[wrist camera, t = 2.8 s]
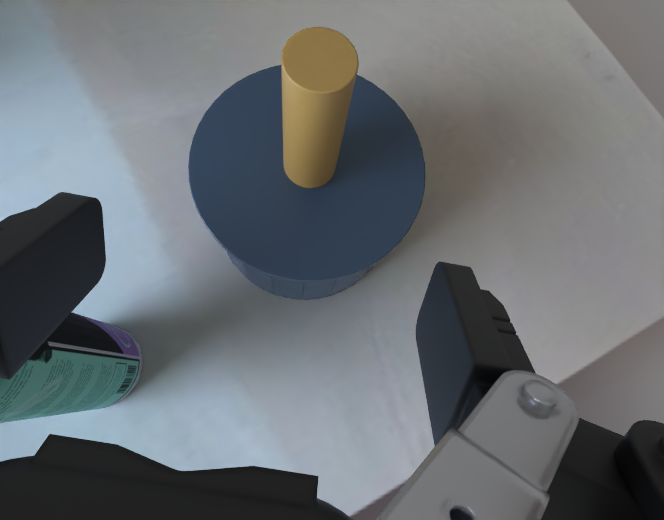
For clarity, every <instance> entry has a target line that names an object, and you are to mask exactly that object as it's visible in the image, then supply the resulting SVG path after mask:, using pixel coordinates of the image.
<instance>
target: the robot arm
mask: <svg viewBox="0 0 664 520" xmlns="http://www.w3.org/2000/svg"><path fill="white" fill-rule="evenodd" d="M105 262H106V254H105V241H104V228H103V215H102V207H101V204H100V202H99V200H98V199H96V198H92V197H87V196H81V195H76V194H71V193H65V192H61V193H58V194H57V195H55V196H54V197H52V198H51V199H49V200H47V201H46V202H44V203H43V204H41V205H40V206H38V207H37V208H33V209H30V210H27V211H24V212H21V213H17V214H14V215H11V216H9V217H7V218H6V219H4V220H2V221H1V222H0V378H2V379H8V380H10V379H11V378H12V377H13V376H14V375H15V374H16V372H17V371H18V370H19V369H20V368H21V367H22V366H23V365H24V364H25V363H26V361H27V360H28V359H29V358H30V357H31V356H32V355H33V354H34V353H35V352H36V350H37V349H38V348H39V347H40V346H41V345H42V344H43V343H44V342H45V341H46V339H47V338H48V337H49V336H50V335H51V334H52V333H53V332H54V331H55V329H56V328H57V327H58V326H59V325H60V324H61V323H62V322H63V321H64V320H65V318H66V317H67V316H68V315H69V314H70V313H71V312H72V311H73V310H74V309H75V307H76V306H77V305H78V304H79V303H80V302H81V301H82V300H83V299H84V298H85V296H86V295H87V294H88V293H89V292H90V291H91V290H92V289H93V288H94V287H95V285H96V284H97V283H98V282H99V280H100V279H101V277H102V274H103V272H104V268H105ZM416 341H417V347H418V352H419V358H420V364H421V370H422V375H423V381H424V387H425V393H426V398H427V404H428V410H429V415H430V421H431V427H432V433H433V438H434V444H435V447H434V449H433V450H432V451H431V452H430V454H429V455H428V456H427V457H426V459H425V460H424V461H423V462H422V463H421V465H420V466H419V467H418V468H417V470H416V471H415V472H414V473H413V475H412V476H411V477H410V478H409V479H408V481H407V482H406V483H405V484H404V486H403V487H402V488H401V489H400V490H399V492H398V493H397V494H396V495H395V497H394V498H393V499H392V500H391V502H390V503H389V504H388V505H387V506H386V508H385V509H384V510H383V511H382V513H381V514H380V515H379V516H378V517H377V519H376V520H664V424H663V423H659V422H656V421H648V420H643V421H638V422H636V423H634V424H633V425H632V427H631V428H630V429H629V431H628V432H627V433H626V435H625V436H622V435H620V434H617V433H614V432H612V431H610V430H607V429H605V428H602V427H600V426H597V425H595V424H593V423H590V422H588V421H585V420H583V419H581V418H579V413H578V410H577V407H576V405H575V404H574V402H573V401H572V399H571V398H570V397H569V396H568V394H566V392H564V391H563V390H562V389H561V388H560V387H559V386H557V385H556V384H555V383H553V382H551V381H550V380H548V379H546V378H544V377H542V376H540V375H537V374H536V373H535V371H534V369H533V367H532V365H531V362H530V360H529V358H528V356H527V354H526V352H525V350H524V348H523V346H522V344H521V341H520V339H519V337H518V335H516V331H515V329H514V327H513V325H512V323H510V318H509V316H508V314H507V312H506V310H505V308H504V306H503V304H502V303H501V302H499V301H498V300H497V299H496V298H495V297H494V296H493V295H492V294H491V293H490V292H489V291H487V290H481V289H480V287H479V285H478V283H477V280H476V278H475V275H474V273H473V271H472V269H471V268H470V267H467V266H462V265H456V264H451V263H445V262H438V263H437V264H436V266H435V268H434V271H433V274H432V276H431V279H430V282H429V285H428V288H427V291H426V294H425V297H424V300H423V303H422V306H421V309H420V312H419V315H418V319H417V325H416ZM317 486H318V476H313V475H307V474H301V473H294V472H288V471H282V470H275V469H269V468H263V467H256V466H249V467H236V468H223V469H210V470H197V471H178V470H175V469H172V468H170V467H167V466H165V465H163V464H161V463H158V462H156V461H154V460H151V459H149V458H147V457H144V456H142V455H140V454H137V453H135V452H133V451H131V450H128V449H126V448H124V447H121V446H119V445H116V444H110V443H103V442H97V441H91V440H84V439H78V438H71V437H65V436H59V435H52V434H49V436H48V437H47V439H46V440H45V441H44V443H43V444H42V446H41V447H40V449H39V450H38V451H37V453H36V454H35V456H28V457H22V458H16V459H10V460H6V461H2V462H0V520H353V519H351V518H350V517H349V516H347V515H346V514H345V513H343V512H342V511H341V510H339V509H337V508H336V507H334V506H332V505H330V504H329V503H327V502H325V501H322V500H320V499H318V498H317Z"/></svg>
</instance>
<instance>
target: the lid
mask: <svg viewBox="0 0 664 520" xmlns="http://www.w3.org/2000/svg"><path fill="white" fill-rule="evenodd" d="M358 65H359V62H358V55H357V52H356V50H355V48H354V46H353V44H352V43H351V42H350V41H349V40H348V39H347V38H346V37H345V36H344V35H342V34H341V33H339V32H337V31H335V30H332V29H329V28H324V27H311V28H306V29H303V30H301V31H299V32H297V33H295V34H294V35H293V36H291V37H290V38H289V40H288V41H287V42H286V44H285V46H284V48H283V50H282V55H281V65H279V66H274V67H271V68H267V69H264V70H261V71H258V72H256V73H254V74H251V75H249V76H247V77H245V78H243V79H242V80H240V81H238V82H236V83H235V84H234V85H232V86H231V87H230V88H228V89H227V90H226V91H224V92H223V93H222V94H221V95H220V96H219V97H218V98H217V99H216V100H215V101H214V102H213V104H212V105H211V106H210V108H209V109H208V110H207V111H206V113H205V115H204V116H203V118H202V120H201V122H200V123H199V125H198V127H197V130H196V132H195V135H194V137H193V141H192V145H191V149H190V155H189V166H188V168H189V183H190V188H191V193H192V197H193V200H194V202H195V205H196V208H197V211H198V212H199V214H200V216H201V218H202V220H203V222H204V224H205V226H206V227H207V229H208V230H209V231H210V233H211V234H212V235H213V237H214V238H215V239H216V240H217V242H218V243H219V244H220V245H221V246H222V247H223V248H224V249H225V250H226V251H227V252H229V253H230V254H231V255H232V256H234V257H235V258H236V259H238V260H239V261H241V262H242V263H244V264H246V265H247V266H249V267H251V268H252V269H255V270H257V271H259V272H262V273H264V274H266V275H269V276H273V277H276V278H279V279H283V280H290V281H296V282H323V281H332V280H336V279H340V278H345V277H348V276H351V275H353V274H356V273H359V272H361V271H363V270H365V269H367V268H369V267H370V266H372V265H374V264H376V263H377V262H378V261H380V260H381V259H382V258H384V257H385V256H387V255H388V254H389V253H390V252H391V251H392V250H393V249H394V248H395V247H396V246H397V245H398V244H399V243H400V241H401V240H402V239H403V237H404V236H405V235H406V234H407V232H408V231H409V229H410V227H411V226H412V224H413V222H414V220H415V219H416V216H417V214H418V211H419V209H420V206H421V203H422V198H423V194H424V188H425V162H424V157H423V152H422V148H421V145H420V142H419V139H418V136H417V134H416V132H415V130H414V128H413V126H412V124H411V122H410V121H409V119H408V118H407V116H406V115H405V113H404V112H403V110H402V109H401V108H400V107H399V106H398V105H397V103H396V102H395V101H394V100H393V99H392V98H391V97H389V96H388V95H387V94H386V93H385V92H384V91H383V90H381V89H380V88H378V87H377V86H376V85H374V84H373V83H371V82H369V81H368V80H366V79H364V78H362V77H361V76H358V75H357V71H358Z"/></svg>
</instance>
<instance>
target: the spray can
mask: <svg viewBox="0 0 664 520" xmlns="http://www.w3.org/2000/svg"><path fill="white" fill-rule="evenodd" d="M142 365H143V360H142V353H141V350H140V347H139V345H138V343H137V342H136V340H135V339H134V338H133V337H132V336H131V335H130V334H129V333H127V332H126V331H124V330H122V329H120V328H118V327H116V326H112V325H109V324H106V323H103V322H100V321H97V320H93V319H90V318H87V317H84V316H81V315H78V314H75V313H70V314H69V315H68V316H67V317H66V318H65V320H64V321H63V322H62V323H61V324H60V325H59V326H58V327H57V328H56V329H55V331H54V332H53V333H52V334H51V335H50V336H49V337H48V338H47V339H46V341H45V342H44V343H43V344H42V345H41V346H40V347H39V348H38V349H37V350H36V352H35V353H34V354H33V355H32V356H31V357H30V358H29V359H28V360H27V361H26V363H25V364H24V365H23V366H22V367H21V368H20V369H19V370H18V371H17V372H16V374H15V375H14V376H13V377H12V378H11V379H10V380H8V379H2V378H0V423H3V422H10V421H17V420H24V419H31V418H38V417H45V416H51V415H58V414H65V413H72V412H79V411H86V410H93V409H99V408H105V407H108V406H111V405H113V404H116V403H117V402H119V401H121V400H122V399H124V398H125V397H126V396H127V395H128V394H129V393H130V392H131V391H132V390H133V389H134V387H135V386H136V384H137V382H138V380H139V378H140V375H141V372H142Z"/></svg>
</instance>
